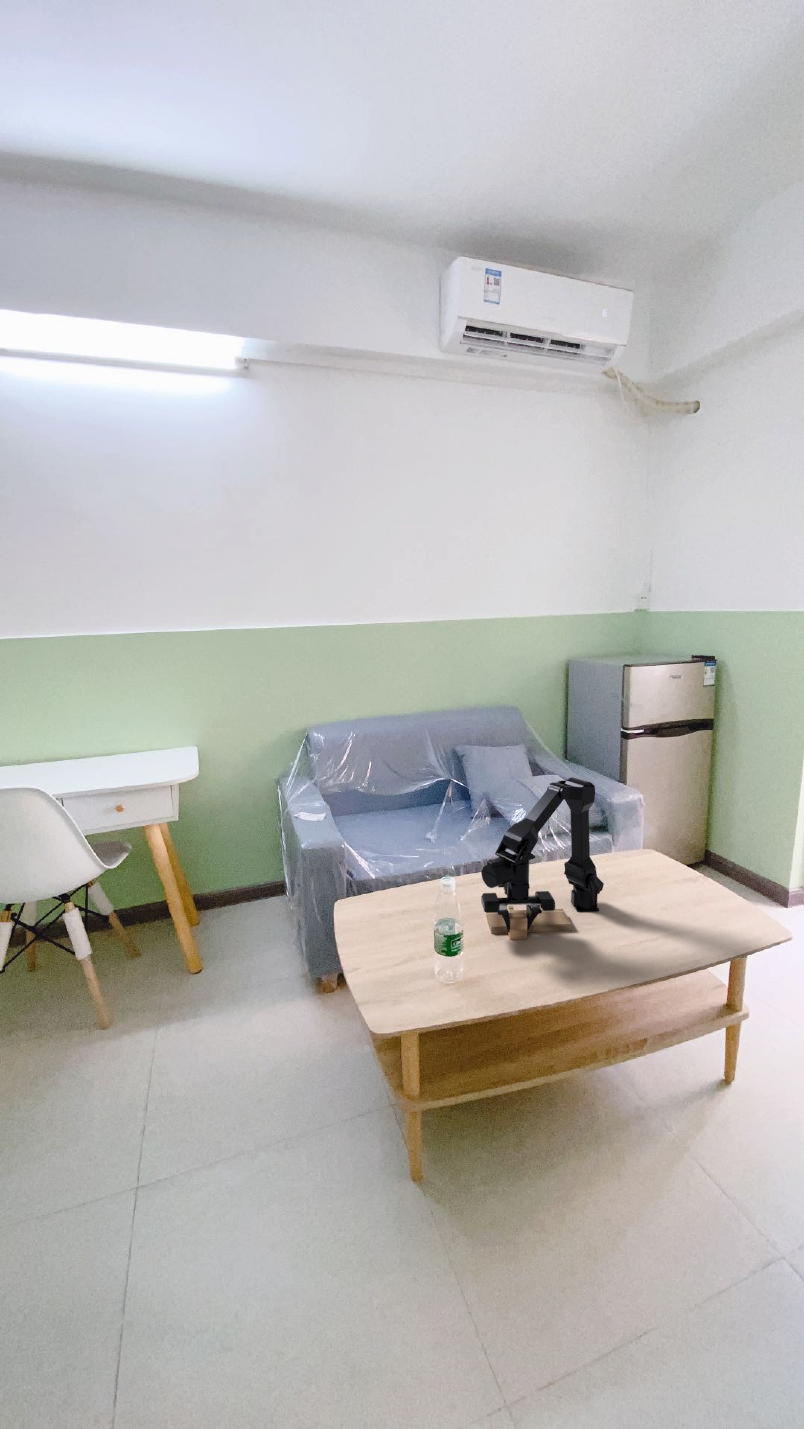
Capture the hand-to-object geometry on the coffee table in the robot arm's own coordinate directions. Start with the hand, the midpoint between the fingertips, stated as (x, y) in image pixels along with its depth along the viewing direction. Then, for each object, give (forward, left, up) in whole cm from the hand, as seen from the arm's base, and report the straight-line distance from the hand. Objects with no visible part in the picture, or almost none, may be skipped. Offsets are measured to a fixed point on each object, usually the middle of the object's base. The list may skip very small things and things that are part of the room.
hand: (517, 930), depth 146 cm
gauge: (0, -4, -2) cm, 4 cm away
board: (-4, -6, -2) cm, 7 cm away
